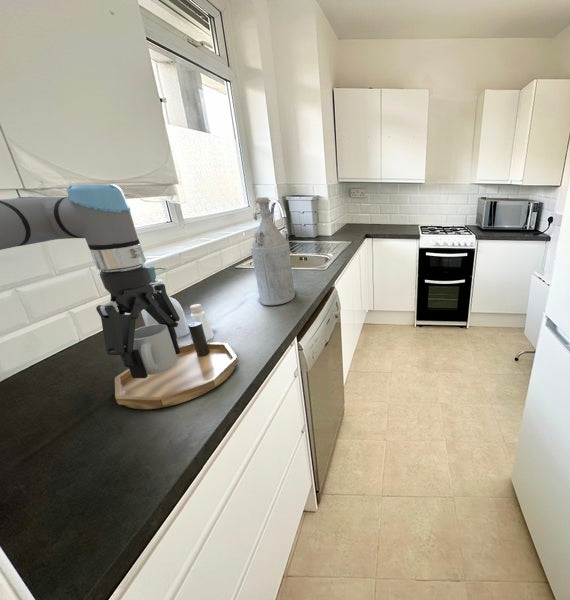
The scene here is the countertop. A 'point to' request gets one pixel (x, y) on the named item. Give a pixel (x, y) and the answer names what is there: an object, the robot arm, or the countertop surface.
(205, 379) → the tray
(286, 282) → the grey jug bottle
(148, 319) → the soap bottle
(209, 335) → the salt shaker
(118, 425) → the countertop surface
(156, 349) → the cup
